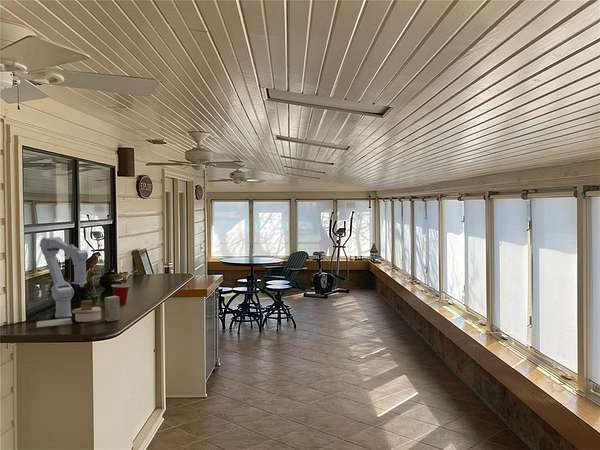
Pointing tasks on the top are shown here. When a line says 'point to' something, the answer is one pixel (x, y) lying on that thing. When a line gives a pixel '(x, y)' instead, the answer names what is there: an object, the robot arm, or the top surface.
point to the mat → (54, 322)
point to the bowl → (88, 317)
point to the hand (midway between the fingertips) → (80, 299)
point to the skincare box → (112, 308)
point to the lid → (86, 308)
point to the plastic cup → (121, 292)
